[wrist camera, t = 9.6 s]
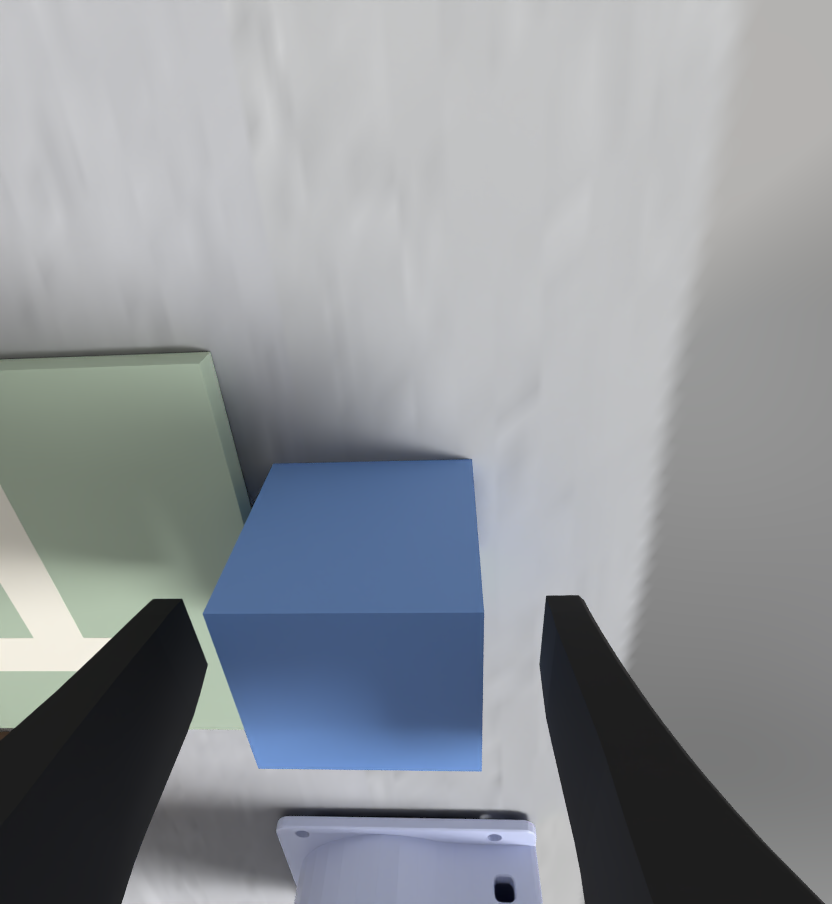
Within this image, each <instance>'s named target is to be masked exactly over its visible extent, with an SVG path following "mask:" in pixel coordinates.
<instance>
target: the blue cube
mask: <svg viewBox="0 0 832 904" xmlns="http://www.w3.org/2000/svg"><path fill="white" fill-rule="evenodd" d="M203 617H204V619H205V622H206V625H207V628H208V630H209V633H210V636H211V639H212V641H213V644H214V647H215V650H216V653H217V655H218V658H219V661H220V664H221V666H222V669H223V672H224V675H225V677H226V680H227V683H228V686H229V688H230V691H231V694H232V697H233V699H234V702H235V705H236V708H237V710H238V713H239V716H240V719H241V721H242V724H243V727H244V730H245V732H246V735H247V738H248V741H249V743H250V746H251V749H252V752H253V754H254V757H255V760H256V763H257V765H258V768H259V769H336V770H414V771H482V711H483V645H484V606H483V594H482V581H481V568H480V556H479V543H478V530H477V518H476V505H475V492H474V480H473V467H472V459H459V460H415V461H370V462H326V463H281V464H273V465H272V467H271V469H270V471H269V474H268V476H267V478H266V480H265V482H264V484H263V486H262V488H261V491H260V493H259V495H258V497H257V499H256V501H255V503H254V505H253V508H252V510H251V512H250V514H249V516H248V518H247V520H246V522H245V525H244V527H243V529H242V531H241V533H240V535H239V537H238V539H237V542H236V544H235V546H234V548H233V550H232V552H231V554H230V557H229V559H228V561H227V563H226V565H225V567H224V569H223V571H222V574H221V576H220V578H219V580H218V582H217V584H216V586H215V588H214V591H213V593H212V595H211V597H210V599H209V601H208V603H207V605H206V608H205V610H204V612H203Z"/></svg>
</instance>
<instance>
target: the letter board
mask: <svg viewBox="0 0 832 904" xmlns="http://www.w3.org/2000/svg"><path fill="white" fill-rule="evenodd" d="M251 510H252V509H251V505H250V502H249V498H248V494H247V490H246V486H245V482H244V479H243V475H242V471H241V467H240V463H239V460H238V456H237V452H236V448H235V444H234V441H233V437H232V433H231V429H230V425H229V421H228V418H227V414H226V410H225V406H224V402H223V399H222V395H221V391H220V387H219V383H218V379H217V376H216V372H215V368H214V364H213V360H212V357H211V353H210V352H192V353H165V354H138V355H111V356H84V357H56V358H29V359H2V360H0V728H15V727H16V726H17V725H19V724H20V723H21V722H22V721H23V720H24V719H25V718H26V717H28V716H29V715H30V714H31V713H32V712H33V711H34V710H35V709H37V708H38V707H39V706H40V705H41V704H42V703H43V702H45V701H46V700H47V699H48V698H49V697H50V696H51V695H52V694H54V693H55V692H56V691H57V690H58V689H59V688H60V687H61V686H62V685H63V684H64V683H65V682H66V681H68V680H69V679H70V678H71V677H72V676H73V675H74V674H75V673H76V672H77V671H78V670H79V669H80V668H81V667H82V666H83V665H84V664H85V663H87V662H88V661H89V660H90V659H91V658H92V657H93V656H94V655H95V654H96V653H97V652H98V651H99V650H100V649H101V648H102V647H103V646H104V645H105V644H106V643H107V642H108V641H109V640H110V639H111V638H113V637H114V636H115V635H116V634H117V633H118V632H119V631H120V630H121V629H122V628H123V627H124V626H125V625H126V624H127V623H128V622H129V621H130V620H131V619H132V618H133V617H134V616H135V615H136V614H137V613H138V612H139V611H140V610H141V609H142V608H144V607H145V606H146V605H147V604H148V603H149V602H150V601H151V600H152V599H183V602H184V604H185V607H186V609H187V612H188V615H189V617H190V620H191V622H192V625H193V627H194V630H195V633H196V635H197V638H198V640H199V643H200V645H201V648H202V651H203V653H204V656H205V658H206V661H207V663H208V667H207V671H206V674H205V678H204V682H203V686H202V690H201V693H200V697H199V700H198V703H197V707H196V710H195V714H194V717H193V719H192V722H191V724H190V727H189V729H217V730H244V727H243V724H242V721H241V719H240V716H239V713H238V710H237V708H236V705H235V702H234V699H233V697H232V694H231V691H230V688H229V686H228V683H227V680H226V677H225V675H224V672H223V669H222V666H221V664H220V661H219V658H218V655H217V653H216V650H215V647H214V644H213V641H212V639H211V636H210V633H209V630H208V628H207V625H206V622H205V619H204V617H203V612H204V610H205V608H206V605H207V603H208V601H209V599H210V597H211V595H212V593H213V591H214V588H215V586H216V584H217V582H218V580H219V578H220V576H221V574H222V571H223V569H224V567H225V565H226V563H227V561H228V559H229V557H230V554H231V552H232V550H233V548H234V546H235V544H236V542H237V539H238V537H239V535H240V533H241V531H242V529H243V527H244V525H245V522H246V520H247V518H248V516H249V514H250V512H251Z"/></svg>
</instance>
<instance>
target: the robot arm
mask: <svg viewBox="0 0 832 904" xmlns="http://www.w3.org/2000/svg"><path fill="white" fill-rule="evenodd" d="M207 667H208V663H207V661H206V658H205V656H204V653H203V651H202V648H201V645H200V643H199V640H198V638H197V635H196V633H195V630H194V627H193V625H192V622H191V620H190V617H189V615H188V612H187V609H186V607H185V604H184V602H183V599H152V600H151V601H150V602H149V603H148V604H147V605H146V606H145V607H144V608H142V609H141V610H140V611H139V612H138V613H137V614H136V615H135V616H134V617H133V618H132V619H131V620H130V621H129V622H128V623H127V624H126V625H125V626H124V627H123V628H122V629H121V630H120V631H119V632H118V633H117V634H116V635H115V636H114V637H113V638H111V639H110V640H109V641H108V642H107V643H106V644H105V645H104V646H103V647H102V648H101V649H100V650H99V651H98V652H97V653H96V654H95V655H94V656H93V657H92V658H91V659H90V660H89V661H88V662H87V663H85V664H84V665H83V666H82V667H81V668H80V669H79V670H78V671H77V672H76V673H75V674H74V675H73V676H72V677H71V678H70V679H69V680H68V681H66V682H65V683H64V684H63V685H62V686H61V687H60V688H59V689H58V690H57V691H56V692H55V693H54V694H52V695H51V696H50V697H49V698H48V699H47V700H46V701H45V702H43V703H42V704H41V705H40V706H39V707H38V708H37V709H35V710H34V711H33V712H32V713H31V714H30V715H29V716H28V717H26V718H25V719H24V720H23V721H22V722H21V723H20V724H19V725H17V726H16V727H15V728H14V729H13V730H12V731H11V732H9V733H8V734H7V735H6V736H5V737H4V738H3V739H2V740H0V904H121V903H122V900H123V897H124V894H125V890H126V887H127V884H128V881H129V878H130V875H131V871H132V868H133V865H134V862H135V860H136V857H137V854H138V852H139V849H140V846H141V844H142V841H143V838H144V836H145V833H146V831H147V828H148V826H149V824H150V821H151V819H152V816H153V814H154V812H155V809H156V807H157V804H158V802H159V800H160V797H161V795H162V792H163V790H164V788H165V785H166V783H167V780H168V778H169V776H170V773H171V771H172V768H173V766H174V764H175V761H176V759H177V756H178V754H179V751H180V749H181V747H182V744H183V742H184V739H185V737H186V734H187V732H188V729H189V727H190V724H191V722H192V719H193V717H194V714H195V710H196V707H197V703H198V700H199V697H200V693H201V690H202V686H203V682H204V678H205V674H206V671H207ZM540 672H541V681H542V689H543V697H544V705H545V713H546V719H547V724H548V728H549V733H550V737H551V742H552V746H553V751H554V755H555V759H556V764H557V768H558V772H559V777H560V781H561V785H562V790H563V794H564V798H565V803H566V807H567V811H568V816H569V820H570V825H571V829H572V833H573V838H574V842H575V847H576V852H577V857H578V862H579V867H580V873H581V879H582V886H583V893H584V899H585V904H825V903H824V902H823V901H822V900H821V899H819V897H818V896H817V895H815V893H813V891H812V890H810V888H809V887H808V886H807V885H806V884H805V883H804V882H803V881H802V880H801V879H800V878H799V877H798V876H797V875H796V874H795V873H794V872H793V871H792V870H791V869H790V868H789V867H788V866H787V865H786V864H785V863H784V862H783V861H782V860H781V859H780V858H779V857H778V856H777V855H776V854H775V853H774V852H773V851H772V850H771V849H770V848H769V847H768V846H767V845H766V843H765V842H763V840H762V839H761V838H760V837H759V836H758V835H757V834H756V833H755V831H754V830H753V829H752V828H751V827H750V826H749V825H748V824H747V823H746V822H745V821H744V819H743V818H742V817H741V816H740V815H739V814H738V813H737V812H736V811H735V810H734V809H733V807H732V806H731V805H730V804H729V803H728V802H727V801H726V799H725V798H724V797H723V796H722V795H721V793H720V792H719V791H718V790H717V789H716V788H715V787H714V785H713V784H712V783H711V782H710V781H709V780H708V778H707V777H706V776H705V775H704V774H703V772H702V771H701V770H700V769H699V768H698V766H697V765H696V764H695V763H694V761H693V760H692V759H691V758H690V757H689V755H688V754H687V753H686V751H685V750H684V749H683V748H682V746H681V745H680V744H679V742H678V741H677V740H676V739H675V737H674V736H673V735H672V733H671V732H670V731H669V730H668V728H667V727H666V726H665V724H664V723H663V722H662V720H661V719H660V718H659V716H658V715H657V714H656V712H655V711H654V710H653V708H652V707H651V706H650V704H649V703H648V701H647V700H646V698H645V697H644V695H643V694H642V693H641V691H640V690H639V688H638V687H637V685H636V684H635V682H634V681H633V680H632V678H631V677H630V675H629V674H628V672H627V671H626V669H625V668H624V666H623V665H622V663H621V662H620V660H619V659H618V657H617V656H616V654H615V652H614V651H613V649H612V648H611V646H610V645H609V643H608V641H607V640H606V638H605V637H604V635H603V633H602V632H601V630H600V628H599V627H598V625H597V623H596V621H595V620H594V618H593V616H592V614H591V613H590V611H589V609H588V607H587V605H586V603H585V601H584V600H583V599H582V598H581V597H580V596H579V595H566V596H546V603H545V614H544V624H543V634H542V645H541V655H540ZM276 833H277V836H278V839H279V841H280V844H281V847H282V849H283V852H284V855H285V857H286V860H287V863H288V865H289V868H290V871H291V873H292V876H293V879H294V881H295V884H296V887H297V891H296V896H295V902H294V904H543V902H542V894H541V886H540V877H539V869H538V861H537V853H536V847H535V846H536V829H535V825H534V824H533V823H531V822H530V821H527V820H499V819H440V818H381V817H321V816H285V817H282V818H280V819H279V820H278V823H277V828H276Z"/></svg>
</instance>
